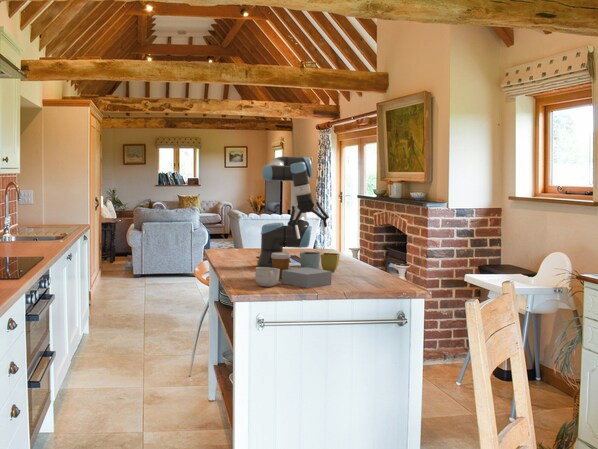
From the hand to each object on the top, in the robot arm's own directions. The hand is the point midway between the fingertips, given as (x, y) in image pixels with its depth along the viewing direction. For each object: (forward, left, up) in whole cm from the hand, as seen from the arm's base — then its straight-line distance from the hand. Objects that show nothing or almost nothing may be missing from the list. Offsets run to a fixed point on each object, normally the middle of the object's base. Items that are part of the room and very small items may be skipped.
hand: (312, 236), depth 323 cm
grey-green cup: (+3, -5, -20) cm, 21 cm away
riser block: (+15, -20, -19) cm, 32 cm away
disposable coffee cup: (-3, -19, -20) cm, 27 cm away
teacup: (+9, -38, -20) cm, 44 cm away
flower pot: (-4, +18, -20) cm, 27 cm away
